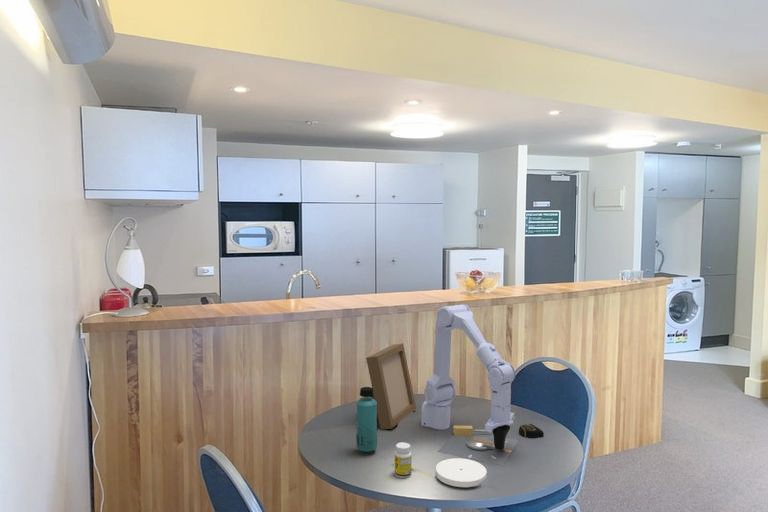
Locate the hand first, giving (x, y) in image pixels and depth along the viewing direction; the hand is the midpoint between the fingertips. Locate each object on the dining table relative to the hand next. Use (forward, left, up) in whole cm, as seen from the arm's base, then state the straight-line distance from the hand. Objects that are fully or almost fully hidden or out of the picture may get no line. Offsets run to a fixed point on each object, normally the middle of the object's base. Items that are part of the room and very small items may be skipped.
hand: (499, 448), depth 162 cm
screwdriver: (-12, +10, -1) cm, 15 cm away
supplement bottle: (-21, -24, -3) cm, 32 cm away
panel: (-7, +2, -3) cm, 8 cm away
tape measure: (+5, +19, -3) cm, 20 cm away
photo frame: (-45, +13, -3) cm, 47 cm away
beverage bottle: (-37, -16, -3) cm, 40 cm away
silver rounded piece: (-5, +2, -1) cm, 5 cm away
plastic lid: (-6, -18, -3) cm, 19 cm away
